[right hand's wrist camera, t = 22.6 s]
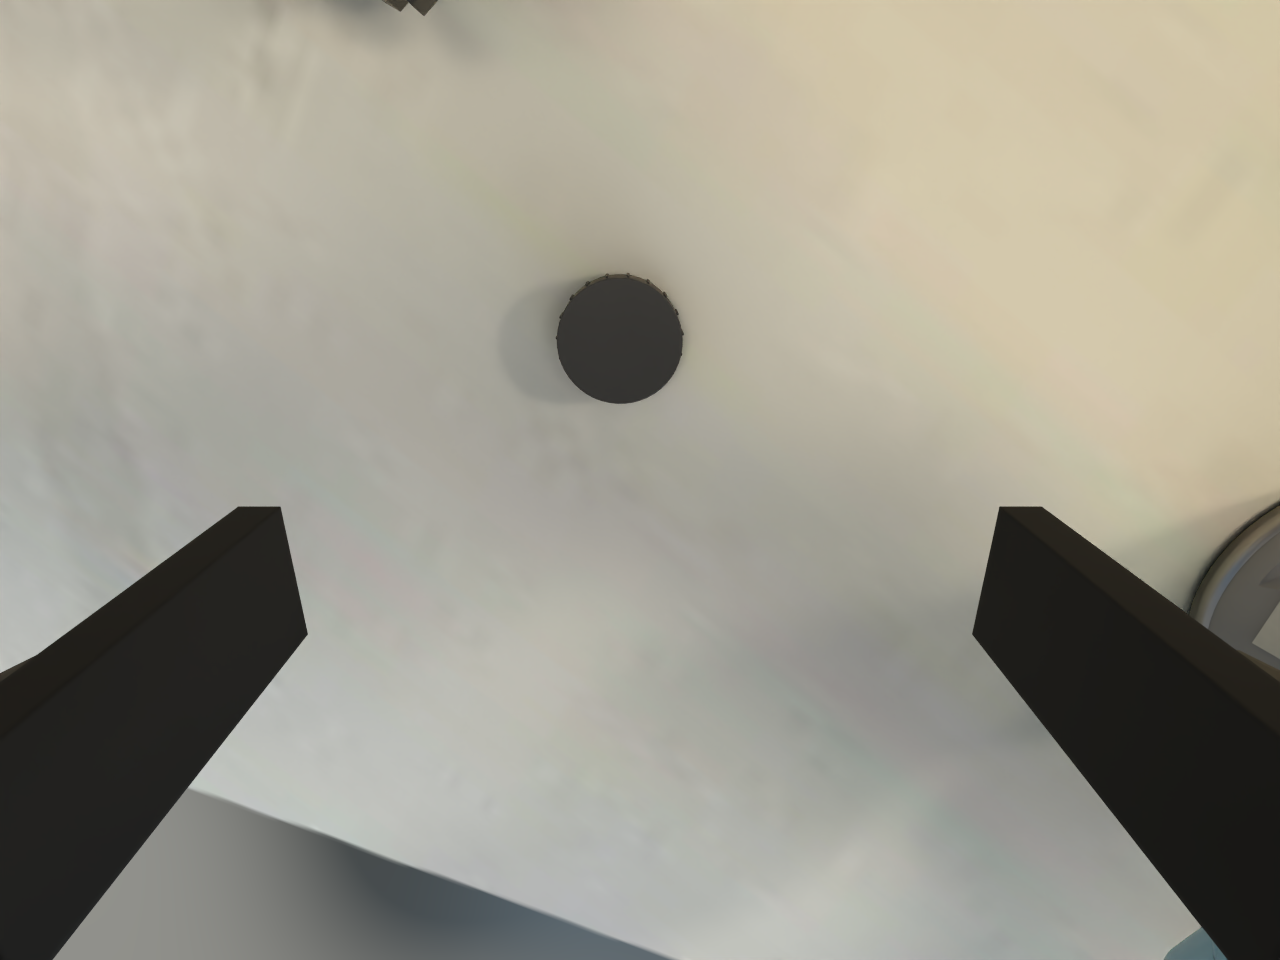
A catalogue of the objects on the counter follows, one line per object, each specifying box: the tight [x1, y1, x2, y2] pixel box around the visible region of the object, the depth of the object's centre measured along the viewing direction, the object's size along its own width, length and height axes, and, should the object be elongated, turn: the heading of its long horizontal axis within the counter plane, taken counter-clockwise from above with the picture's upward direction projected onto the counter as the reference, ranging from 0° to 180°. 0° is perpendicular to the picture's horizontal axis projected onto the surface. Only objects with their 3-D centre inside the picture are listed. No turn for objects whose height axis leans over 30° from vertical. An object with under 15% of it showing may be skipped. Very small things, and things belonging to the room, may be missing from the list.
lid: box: [556, 273, 684, 404], centre depth 32 cm, size 6×6×2 cm
